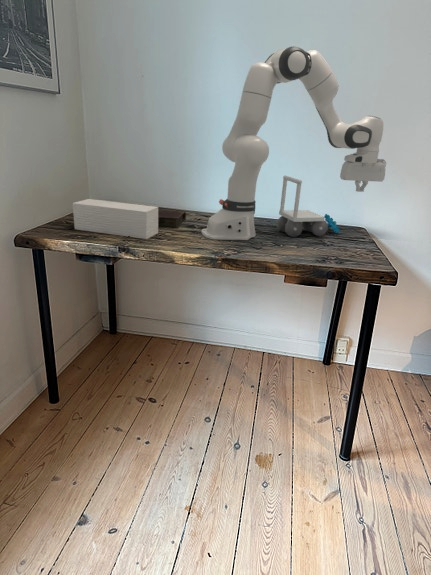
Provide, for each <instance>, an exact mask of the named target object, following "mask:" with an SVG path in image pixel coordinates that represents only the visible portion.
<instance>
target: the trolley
mask: <svg viewBox="0 0 431 575" xmlns="http://www.w3.org/2000/svg"><path fill="white" fill-rule="evenodd" d="M282 178H283V179H282V188H281V189H282V190H281V199H280V208H279V211H278V214H279V215H280V217H278V218H277V219H278V220H277V222H276V228H277V229H278V230H279V231H281V232H282V233H286V235H288V237H292V238H296V237H298V236H300V235H301V233H302V232H303V230H304V231H307V232H311V233H312V234H313V235H315V236H317V237H321V236H324V235H325V234H326V233H327V231H328V230H329V229H328V224H327V223H328V222H326V221H325V217H324V216H322V215H321V214H318V213H316V212H314V211H311V210H309V209H307V210H306V209H304V210H301V209H300V210H299V205H300V204H299V203H300V197H301V196H300V195H301V190H302V183H303V181H302V180H300V179H298V178H294V177H291V176H289V175H283V177H282ZM288 182H290V183H295V184H296V191H295V199H294V206H293V209H291V210H290V209H288V210H285V202H286V194H287V186H288Z"/></svg>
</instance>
